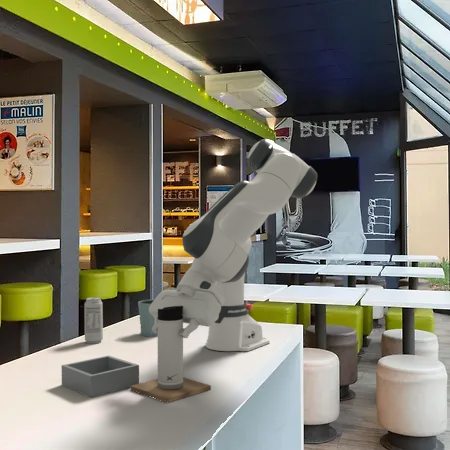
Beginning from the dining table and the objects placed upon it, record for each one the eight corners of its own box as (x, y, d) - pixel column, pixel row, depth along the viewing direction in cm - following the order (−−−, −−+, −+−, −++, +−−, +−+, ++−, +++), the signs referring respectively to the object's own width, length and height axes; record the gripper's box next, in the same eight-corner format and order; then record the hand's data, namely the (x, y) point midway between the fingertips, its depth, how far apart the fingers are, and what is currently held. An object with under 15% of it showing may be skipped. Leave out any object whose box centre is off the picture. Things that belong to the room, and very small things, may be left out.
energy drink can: (105, 340, 192) (104, 297, 192) (99, 344, 186) (99, 299, 186) (88, 339, 193) (88, 297, 193) (82, 343, 187) (81, 299, 187)
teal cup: (171, 333, 204) (171, 300, 204) (154, 338, 195) (153, 304, 195) (150, 330, 209) (150, 298, 209) (132, 334, 201) (132, 302, 200)
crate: (108, 373, 151) (108, 355, 150) (139, 384, 141) (139, 365, 141) (61, 384, 141) (61, 365, 141) (90, 397, 131) (90, 376, 131)
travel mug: (174, 391, 131) (173, 308, 131) (152, 387, 135) (152, 305, 135) (189, 385, 137) (189, 304, 136) (168, 380, 140) (167, 302, 140)
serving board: (174, 378, 146) (174, 374, 146) (210, 389, 136) (210, 385, 136) (130, 389, 136) (130, 385, 136) (166, 403, 126) (166, 398, 126)
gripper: (159, 279, 148) (132, 321, 140) (219, 285, 135) (193, 331, 128) (171, 294, 151) (145, 336, 144) (230, 301, 139) (205, 347, 131)
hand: (168, 334), depth 136 cm, fingers open, 8 cm apart
